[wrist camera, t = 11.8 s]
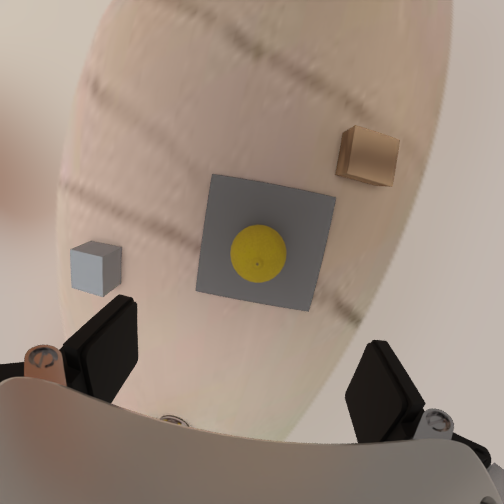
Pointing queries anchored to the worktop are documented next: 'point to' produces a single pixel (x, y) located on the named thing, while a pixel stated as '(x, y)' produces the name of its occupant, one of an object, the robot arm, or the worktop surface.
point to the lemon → (258, 253)
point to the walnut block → (368, 156)
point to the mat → (278, 218)
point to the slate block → (96, 267)
